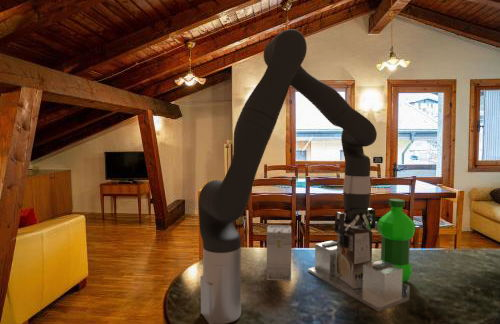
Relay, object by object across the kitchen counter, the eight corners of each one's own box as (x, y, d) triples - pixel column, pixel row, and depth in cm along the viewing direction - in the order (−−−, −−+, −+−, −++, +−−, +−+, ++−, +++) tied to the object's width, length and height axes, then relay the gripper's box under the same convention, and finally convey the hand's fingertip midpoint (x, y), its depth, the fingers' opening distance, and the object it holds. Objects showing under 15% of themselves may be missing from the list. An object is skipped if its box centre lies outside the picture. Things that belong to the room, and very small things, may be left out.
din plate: (378, 311, 82) (379, 274, 81) (307, 271, 107) (308, 242, 106) (409, 300, 88) (410, 265, 87) (335, 264, 112) (335, 237, 112)
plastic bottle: (414, 278, 101) (417, 199, 100) (409, 291, 93) (412, 205, 91) (380, 270, 107) (383, 195, 105) (372, 282, 98) (375, 201, 96)
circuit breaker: (290, 263, 114) (290, 220, 113) (291, 280, 100) (291, 232, 98) (268, 262, 114) (268, 220, 113) (266, 279, 100) (266, 232, 99)
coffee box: (372, 286, 94) (374, 231, 92) (353, 289, 92) (355, 233, 90) (352, 273, 102) (354, 223, 101) (335, 276, 100) (336, 225, 99)
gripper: (363, 187, 102) (362, 238, 103) (329, 190, 95) (327, 245, 96) (384, 191, 95) (381, 245, 96) (348, 194, 88) (346, 253, 89)
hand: (354, 245), depth 96 cm, fingers open, 8 cm apart
